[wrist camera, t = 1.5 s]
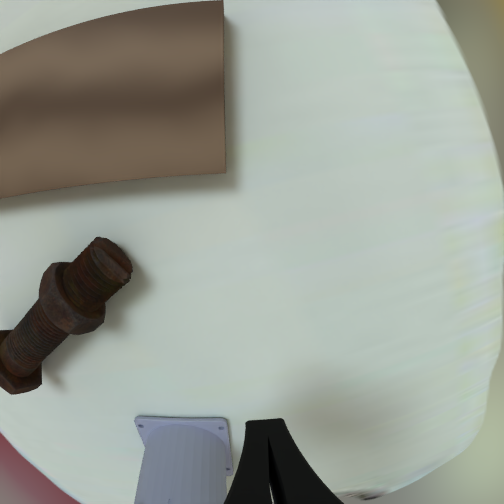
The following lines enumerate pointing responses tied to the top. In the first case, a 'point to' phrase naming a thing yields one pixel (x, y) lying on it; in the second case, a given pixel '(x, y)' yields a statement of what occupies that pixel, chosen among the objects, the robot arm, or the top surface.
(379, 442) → the top surface
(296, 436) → the top surface
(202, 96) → the plank
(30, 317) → the bolt
